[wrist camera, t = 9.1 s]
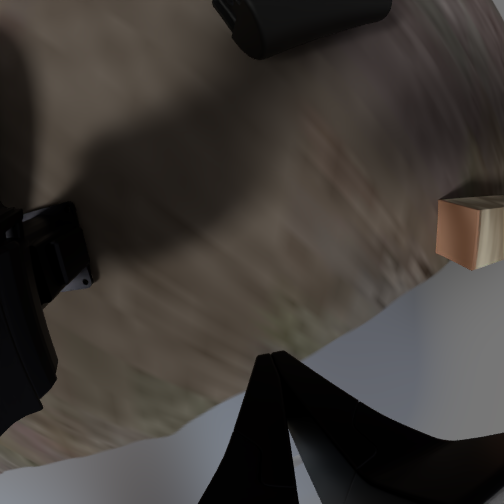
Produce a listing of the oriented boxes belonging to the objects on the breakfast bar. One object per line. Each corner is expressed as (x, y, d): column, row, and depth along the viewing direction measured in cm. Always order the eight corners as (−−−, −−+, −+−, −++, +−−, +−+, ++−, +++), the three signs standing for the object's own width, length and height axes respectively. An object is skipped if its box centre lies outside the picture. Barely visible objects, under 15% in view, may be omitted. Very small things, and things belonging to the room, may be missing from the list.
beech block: (471, 270, 19) (529, 250, 21) (477, 210, 18) (534, 203, 19) (435, 252, 24) (499, 237, 25) (438, 199, 23) (502, 195, 24)
